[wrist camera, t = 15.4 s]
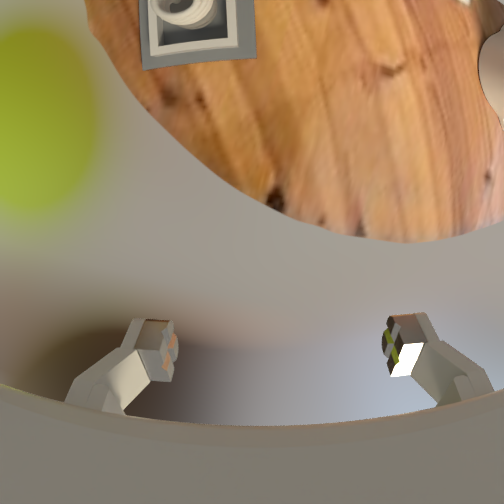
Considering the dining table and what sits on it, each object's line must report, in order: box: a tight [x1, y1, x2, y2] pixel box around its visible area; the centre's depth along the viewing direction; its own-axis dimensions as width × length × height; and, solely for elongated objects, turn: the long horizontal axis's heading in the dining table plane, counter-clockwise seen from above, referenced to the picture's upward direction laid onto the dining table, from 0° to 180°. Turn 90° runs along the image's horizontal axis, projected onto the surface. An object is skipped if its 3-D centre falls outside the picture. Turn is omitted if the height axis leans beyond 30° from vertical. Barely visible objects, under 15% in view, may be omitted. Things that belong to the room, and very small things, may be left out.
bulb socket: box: [139, 0, 257, 70], centre depth 29 cm, size 14×13×4 cm
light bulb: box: [150, 0, 217, 30], centre depth 25 cm, size 6×6×12 cm
